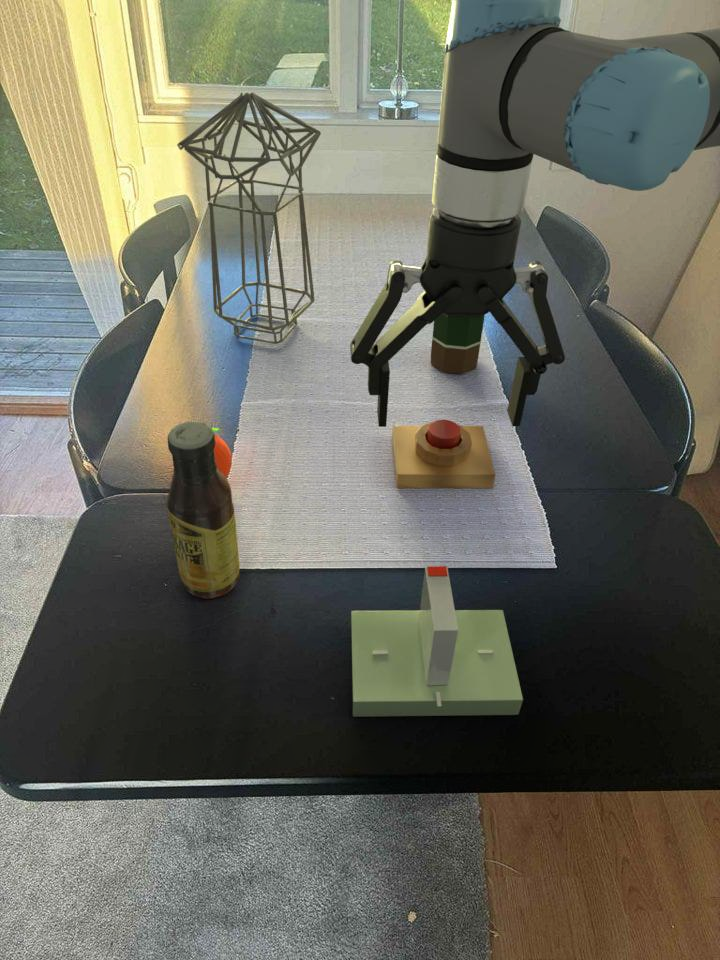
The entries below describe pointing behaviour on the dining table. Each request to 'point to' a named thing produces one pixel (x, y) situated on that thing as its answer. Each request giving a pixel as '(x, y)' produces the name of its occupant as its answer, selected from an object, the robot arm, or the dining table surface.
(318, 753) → the dining table surface
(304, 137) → the geometric lantern
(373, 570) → the dining table surface
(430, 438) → the button
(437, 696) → the plate
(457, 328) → the beer bottle
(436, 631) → the grey upright flat block
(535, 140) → the robot arm
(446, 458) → the button block
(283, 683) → the dining table surface
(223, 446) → the clementine
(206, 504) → the sauce bottle
